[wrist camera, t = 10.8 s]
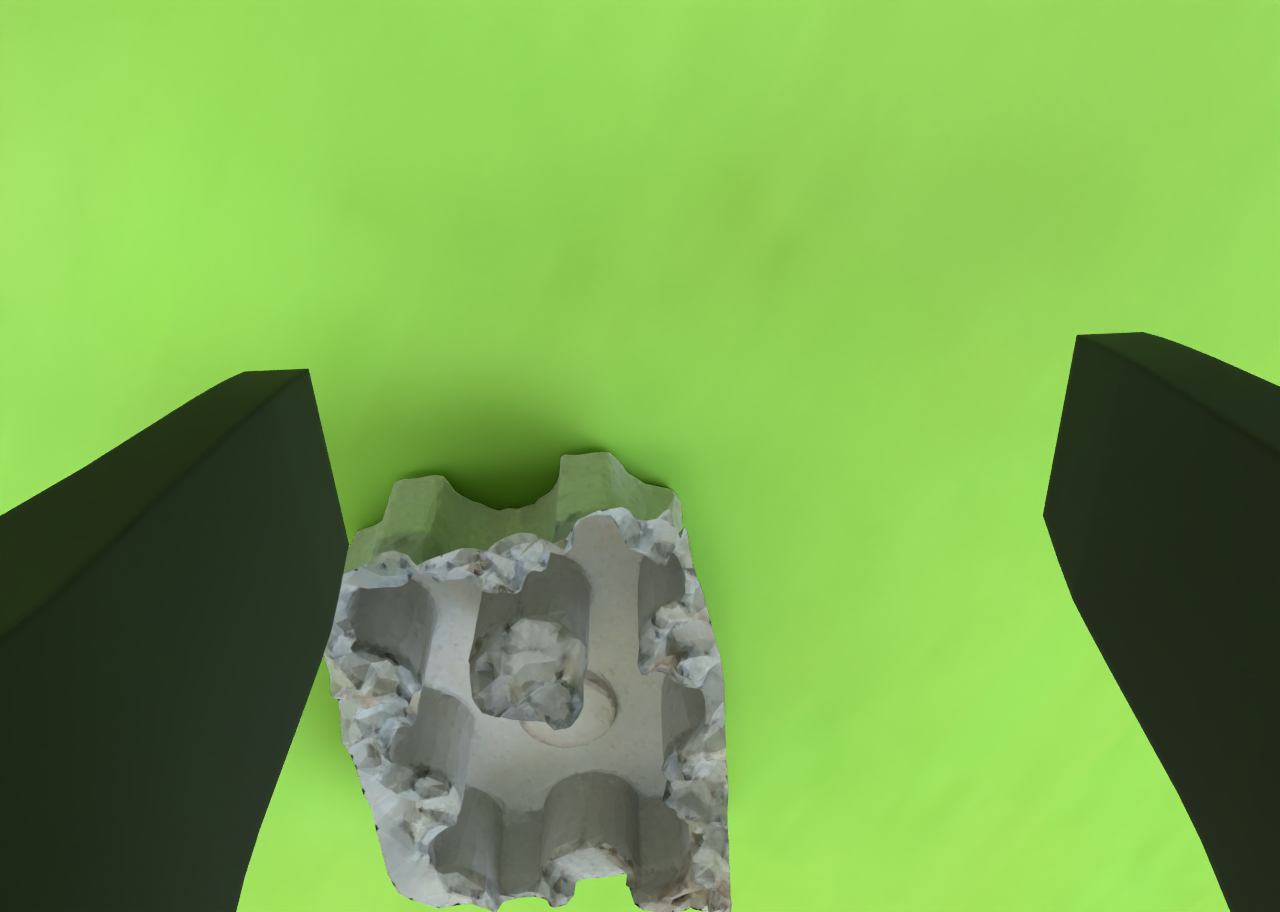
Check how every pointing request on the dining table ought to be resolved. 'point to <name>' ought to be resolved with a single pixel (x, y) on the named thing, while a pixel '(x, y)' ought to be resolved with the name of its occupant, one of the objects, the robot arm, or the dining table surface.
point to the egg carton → (535, 694)
